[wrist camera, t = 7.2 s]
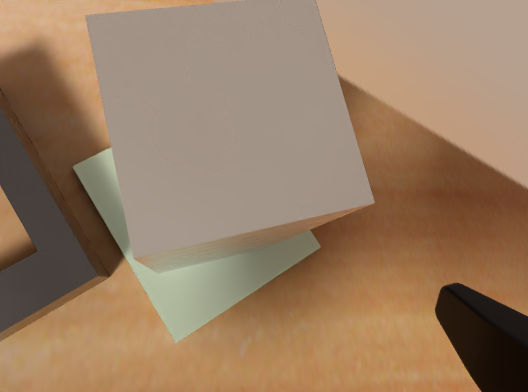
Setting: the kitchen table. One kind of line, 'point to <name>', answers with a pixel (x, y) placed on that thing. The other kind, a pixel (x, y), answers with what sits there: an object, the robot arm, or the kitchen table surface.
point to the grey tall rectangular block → (224, 127)
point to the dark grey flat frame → (39, 235)
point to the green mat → (194, 277)
